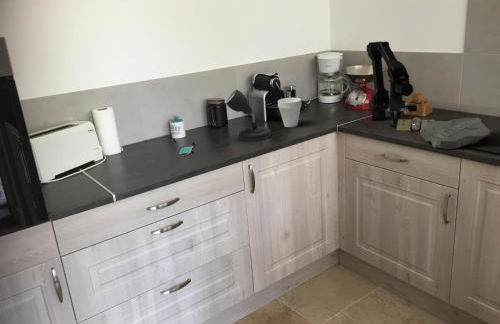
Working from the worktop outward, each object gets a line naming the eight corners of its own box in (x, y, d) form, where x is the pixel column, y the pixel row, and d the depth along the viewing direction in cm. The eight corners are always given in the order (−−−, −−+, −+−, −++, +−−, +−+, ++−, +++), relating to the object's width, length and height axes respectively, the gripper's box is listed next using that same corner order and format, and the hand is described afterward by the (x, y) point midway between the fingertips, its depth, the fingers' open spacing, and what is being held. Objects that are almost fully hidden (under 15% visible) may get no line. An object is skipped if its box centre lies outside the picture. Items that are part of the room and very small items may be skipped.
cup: (286, 129, 220) (284, 103, 215) (275, 125, 231) (273, 100, 226) (306, 125, 224) (305, 99, 220) (295, 121, 235) (293, 96, 231)
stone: (436, 140, 168) (413, 121, 185) (434, 159, 171) (412, 138, 189) (505, 129, 169) (475, 111, 186) (501, 147, 173) (473, 128, 190)
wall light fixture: (222, 89, 211) (262, 82, 213) (230, 137, 220) (268, 130, 221) (224, 94, 197) (267, 87, 198) (232, 145, 205) (273, 138, 206)
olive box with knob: (396, 130, 202) (396, 122, 201) (398, 124, 212) (398, 117, 211) (419, 130, 198) (420, 123, 197) (420, 124, 208) (420, 117, 207)
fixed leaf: (411, 130, 200) (411, 123, 199) (412, 124, 209) (412, 117, 208) (434, 131, 196) (435, 123, 195) (434, 124, 205) (435, 117, 204)
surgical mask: (171, 139, 207) (192, 135, 210) (173, 147, 208) (193, 144, 211) (179, 150, 188) (202, 145, 191) (181, 159, 190) (203, 155, 193)
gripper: (373, 96, 198) (373, 128, 203) (417, 95, 191) (415, 129, 196) (376, 91, 208) (376, 123, 213) (417, 91, 201) (416, 123, 206)
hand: (395, 124), depth 207 cm, fingers closed
